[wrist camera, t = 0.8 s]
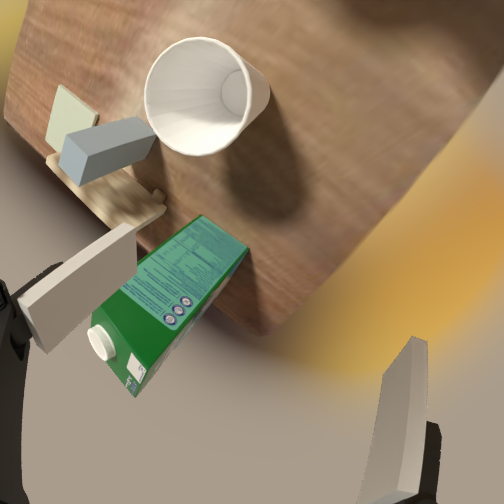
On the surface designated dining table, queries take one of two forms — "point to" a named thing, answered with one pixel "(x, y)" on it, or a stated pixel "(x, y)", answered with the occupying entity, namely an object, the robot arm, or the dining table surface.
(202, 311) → the milk carton
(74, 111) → the mat
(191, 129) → the cup
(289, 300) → the dining table surface
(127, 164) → the block
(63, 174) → the birch screen
